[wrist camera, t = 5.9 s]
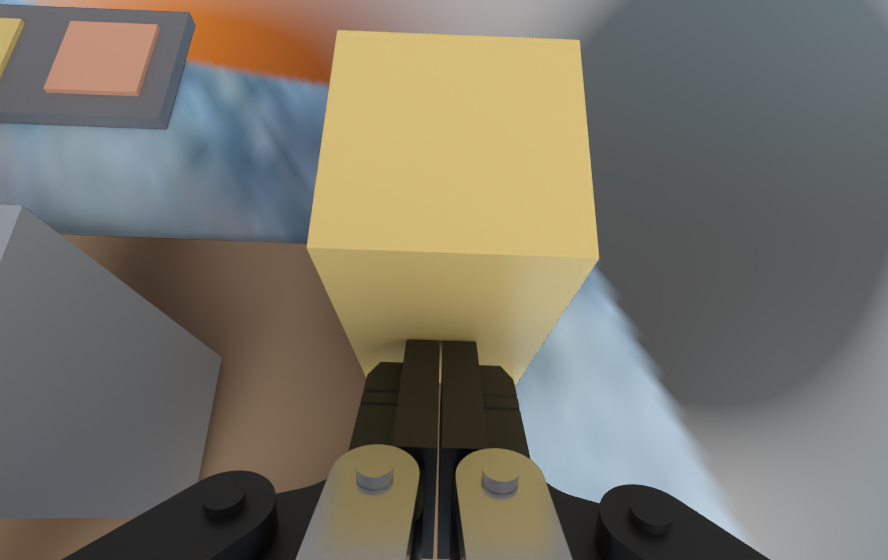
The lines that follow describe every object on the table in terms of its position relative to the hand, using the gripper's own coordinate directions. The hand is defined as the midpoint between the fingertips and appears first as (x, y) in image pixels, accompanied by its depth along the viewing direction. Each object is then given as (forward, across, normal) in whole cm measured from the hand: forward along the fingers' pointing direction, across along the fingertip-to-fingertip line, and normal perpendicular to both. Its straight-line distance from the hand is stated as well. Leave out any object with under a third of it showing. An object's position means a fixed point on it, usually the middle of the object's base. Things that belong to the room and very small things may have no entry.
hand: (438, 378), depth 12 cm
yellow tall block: (+4, 0, 0) cm, 4 cm away
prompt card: (+12, +15, -6) cm, 20 cm away
